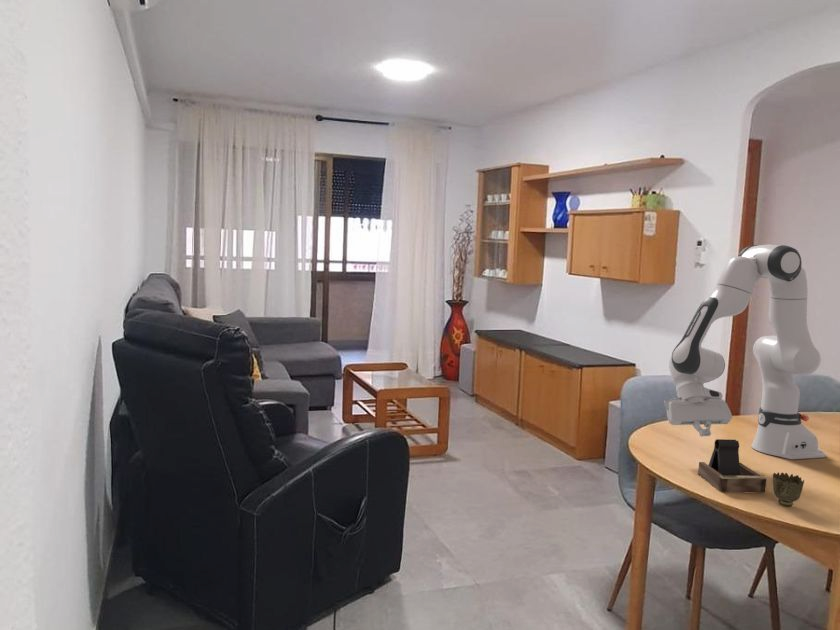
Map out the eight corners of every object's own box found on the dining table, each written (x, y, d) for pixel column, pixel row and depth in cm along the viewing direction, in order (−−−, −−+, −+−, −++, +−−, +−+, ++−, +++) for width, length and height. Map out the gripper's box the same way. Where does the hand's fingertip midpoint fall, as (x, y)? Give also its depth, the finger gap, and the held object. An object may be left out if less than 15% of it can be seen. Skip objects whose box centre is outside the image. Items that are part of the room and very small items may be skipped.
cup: (805, 512, 175) (808, 483, 174) (775, 509, 176) (778, 480, 175) (795, 501, 182) (798, 473, 181) (766, 498, 183) (769, 470, 182)
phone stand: (741, 484, 193) (745, 445, 192) (721, 484, 193) (725, 444, 191) (725, 473, 202) (728, 435, 200) (706, 473, 202) (709, 435, 200)
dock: (739, 475, 201) (740, 461, 200) (765, 492, 187) (766, 477, 187) (697, 474, 200) (699, 460, 199) (721, 492, 186) (722, 477, 186)
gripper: (665, 393, 215) (677, 431, 207) (726, 392, 216) (740, 430, 208) (659, 403, 220) (670, 440, 212) (718, 402, 221) (732, 439, 213)
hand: (705, 435), depth 210 cm, fingers closed
